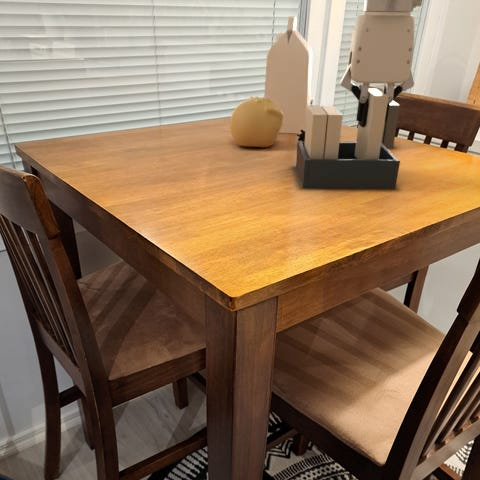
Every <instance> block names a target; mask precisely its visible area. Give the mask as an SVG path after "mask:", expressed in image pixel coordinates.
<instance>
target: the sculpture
mask: <svg viewBox="0 0 480 480" xmlns="http://www.w3.org/2000/svg"><path fill="white" fill-rule="evenodd" d="M282 119H283V113H282V111H281V110H280V109H279V108H278V107H276V105H274V104H273V103H272V102H271V100H270V99H268V98H265V97H264V96H263V97H259V96H250V97H249V98H248V99H246V100H243V101H241V102H240V103H238V104H237V105H236V106H235V108H234V109H233V111H232V113H231V115H230V122H229V129H230V134H231V137H232V139H233V141H234V143H235V144H236V145H238V146H241V147H248V148H249V147H252V148H269V147H271V146H272V145H273V144H274V143H275V141H276V140H277V139H278V135H279V134H280V133H279V131H280V129H281V126H282Z"/></svg>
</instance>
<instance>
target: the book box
mask: <svg viewBox="0 0 480 480" xmlns="http://www.w3.org/2000/svg"><path fill="white" fill-rule="evenodd" d="M296 144H297V146H296V158H295V159H296V160H295V168H296V173H297V175H298V178H299V182H300V185H301V187H302V189H305V190H306V189H307V190H309V189H310V190H312V189H314V190H319V189H320V190H396V187H397V181H398V174H399V170H400V165H401V160H400V159H399V158H398V157H397V156H396V155H395V154H394V153H393V152H392V151H391V150H390V148H387V147H386V146H385V145H384V144H383V143H382V142H381V148H380V154H379V160H378V159H357V158H356V157H355V148H356V141H340V142H339V151H338V159H309V158H308V156H307V153H306V151H305V149H304V144H305V142H302V141H297V143H296Z"/></svg>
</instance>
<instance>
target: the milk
mask: <svg viewBox="0 0 480 480" xmlns="http://www.w3.org/2000/svg"><path fill="white" fill-rule="evenodd" d="M297 23H298V16H288V21H287V27H286V31H285V32H283V31H280V32H279V33H278V34H277V35H276V36H275V38H274V39H273V42H274V44H272V46H271V47H270V48H269V49H268V51H267V53H266V66H265V67H266V68H265V79H264V80H265V81H264V96H263V97H265V98H268V99H270V100H271V102H272V103H273V104H274V105H276V107H278V108H279V109H280V110H281V111H282V113H283V119H282V126H281V129H280V131H279V133H278V134H294V135H295V134H296V135H300V134H302V133H301V132H300V131H301V130H303V131H306V117H307V106H311V101H312V75H313V48H312V47H311V45H310V44H309V43H308V42H307V41H306V39H305V38H304V37H303V35H302V34H301V33H300V32H299V30H298V29H297Z"/></svg>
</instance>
